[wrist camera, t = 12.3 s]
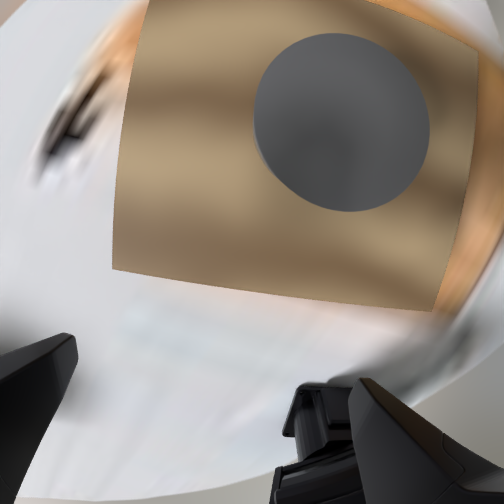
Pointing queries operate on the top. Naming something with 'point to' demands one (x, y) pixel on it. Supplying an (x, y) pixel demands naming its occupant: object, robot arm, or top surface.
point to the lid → (257, 174)
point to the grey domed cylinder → (341, 122)
